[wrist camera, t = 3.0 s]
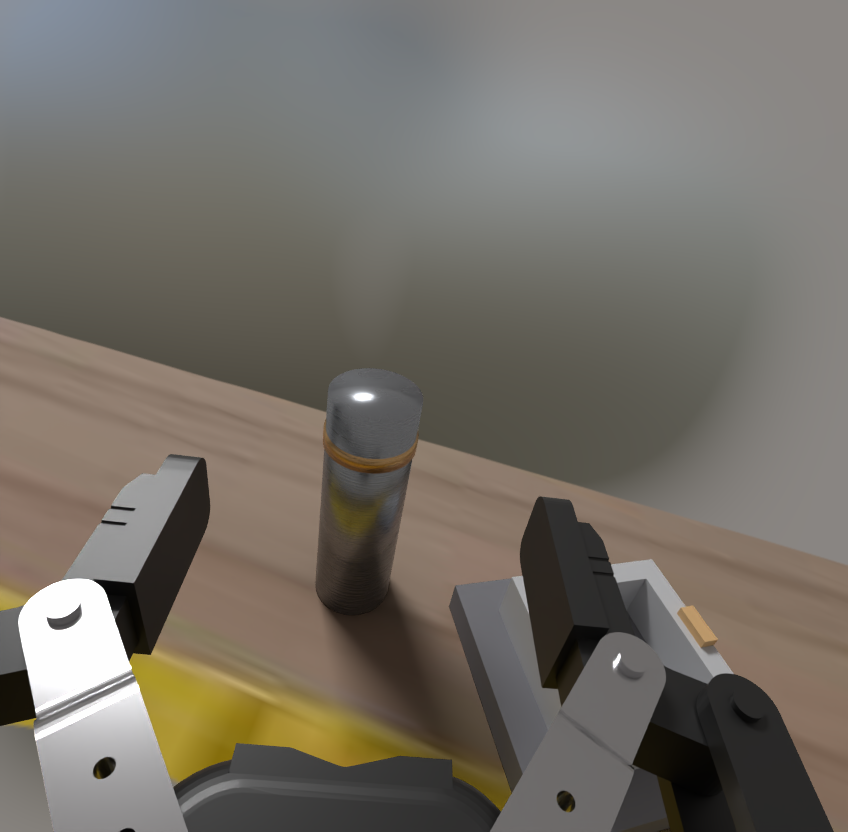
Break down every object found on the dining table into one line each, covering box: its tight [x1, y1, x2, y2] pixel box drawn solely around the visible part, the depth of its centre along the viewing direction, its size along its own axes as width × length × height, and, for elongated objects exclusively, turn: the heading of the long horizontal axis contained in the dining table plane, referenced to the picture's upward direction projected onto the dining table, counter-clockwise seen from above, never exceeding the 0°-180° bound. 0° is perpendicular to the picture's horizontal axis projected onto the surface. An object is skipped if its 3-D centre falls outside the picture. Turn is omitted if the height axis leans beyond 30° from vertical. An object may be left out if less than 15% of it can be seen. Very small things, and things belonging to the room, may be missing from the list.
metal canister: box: [316, 368, 423, 615], centre depth 30 cm, size 5×5×14 cm
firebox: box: [449, 559, 733, 832], centre depth 29 cm, size 11×13×6 cm
